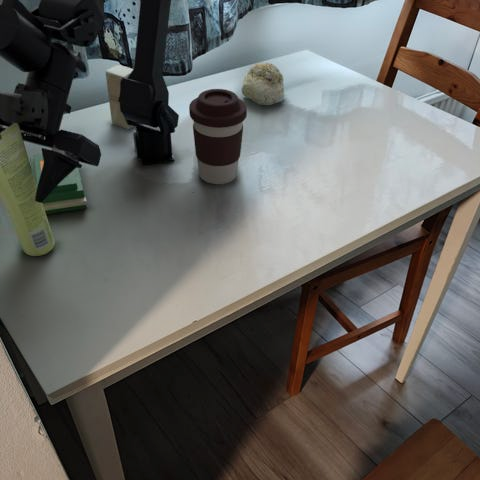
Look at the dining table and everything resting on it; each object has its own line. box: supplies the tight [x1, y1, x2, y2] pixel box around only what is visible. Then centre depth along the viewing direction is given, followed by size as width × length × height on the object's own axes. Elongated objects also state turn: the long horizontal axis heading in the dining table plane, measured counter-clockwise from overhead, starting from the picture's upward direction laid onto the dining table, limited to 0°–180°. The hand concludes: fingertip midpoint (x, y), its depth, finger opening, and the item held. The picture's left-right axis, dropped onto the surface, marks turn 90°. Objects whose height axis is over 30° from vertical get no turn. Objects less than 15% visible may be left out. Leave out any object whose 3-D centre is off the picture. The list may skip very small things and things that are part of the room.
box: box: [104, 64, 135, 130], centre depth 109 cm, size 5×4×11 cm
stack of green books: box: [29, 153, 88, 215], centre depth 92 cm, size 8×15×5 cm, turn 18°
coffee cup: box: [188, 88, 248, 185], centre depth 94 cm, size 10×10×15 cm
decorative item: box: [241, 62, 285, 106], centre depth 121 cm, size 12×9×10 cm
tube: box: [0, 123, 56, 257], centre depth 76 cm, size 6×5×20 cm
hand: (18, 196), depth 74 cm, fingers open, 6 cm apart
